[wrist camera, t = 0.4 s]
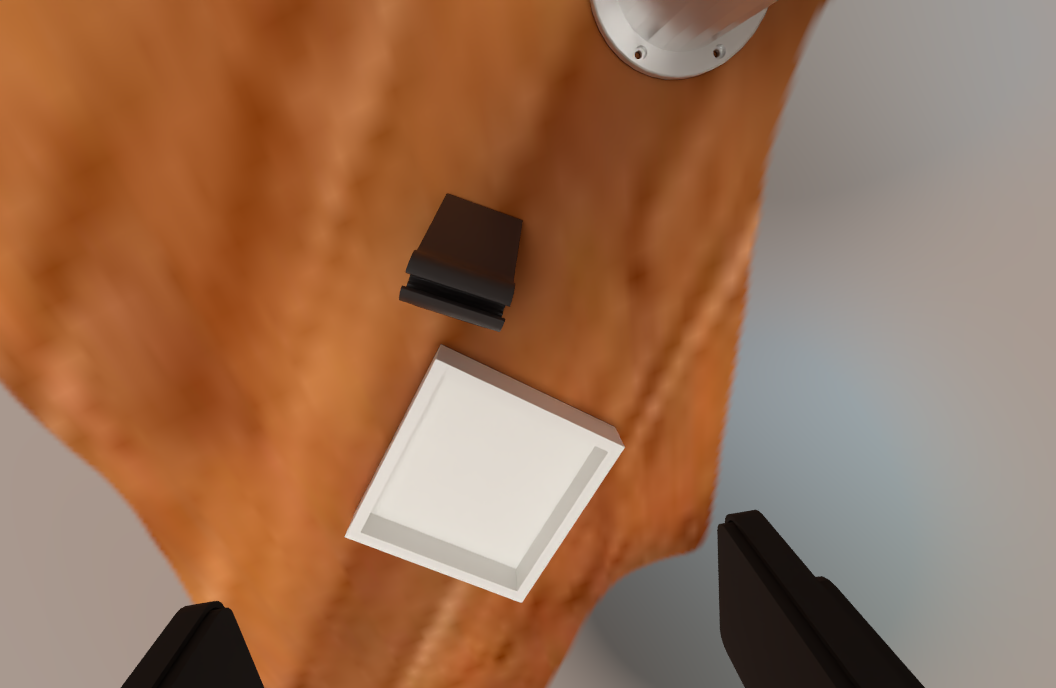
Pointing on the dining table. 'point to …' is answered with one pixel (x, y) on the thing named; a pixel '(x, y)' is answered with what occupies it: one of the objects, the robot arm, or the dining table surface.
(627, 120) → the dining table surface
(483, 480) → the tray
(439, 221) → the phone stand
